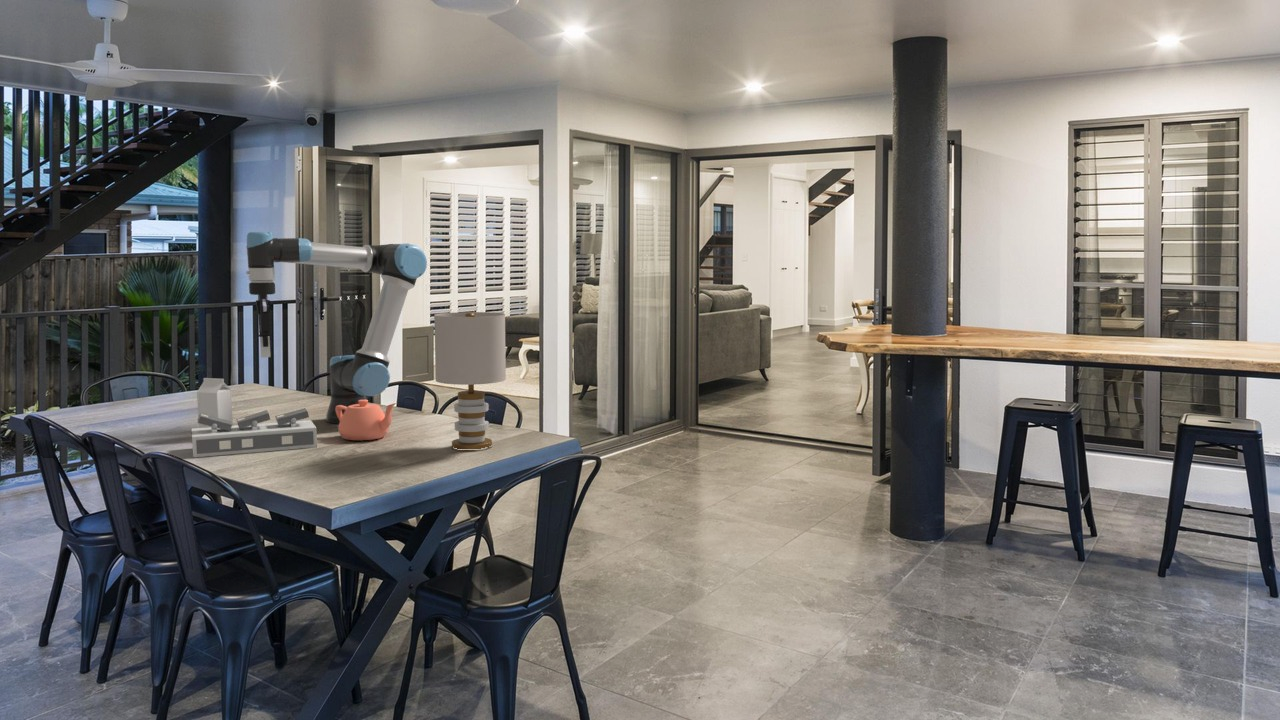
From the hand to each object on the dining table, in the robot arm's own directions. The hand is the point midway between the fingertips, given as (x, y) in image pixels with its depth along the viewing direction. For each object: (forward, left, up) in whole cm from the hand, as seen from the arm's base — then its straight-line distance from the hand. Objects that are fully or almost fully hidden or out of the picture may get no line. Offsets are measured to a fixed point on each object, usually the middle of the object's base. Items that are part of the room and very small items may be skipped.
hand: (265, 356), depth 291 cm
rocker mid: (+5, +13, -18) cm, 23 cm away
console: (+5, +13, -26) cm, 29 cm away
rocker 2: (-6, +13, -18) cm, 23 cm away
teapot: (-28, +12, -26) cm, 40 cm away
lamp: (-55, +40, -26) cm, 72 cm away
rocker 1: (+16, +13, -18) cm, 27 cm away
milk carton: (+15, -9, -26) cm, 32 cm away
